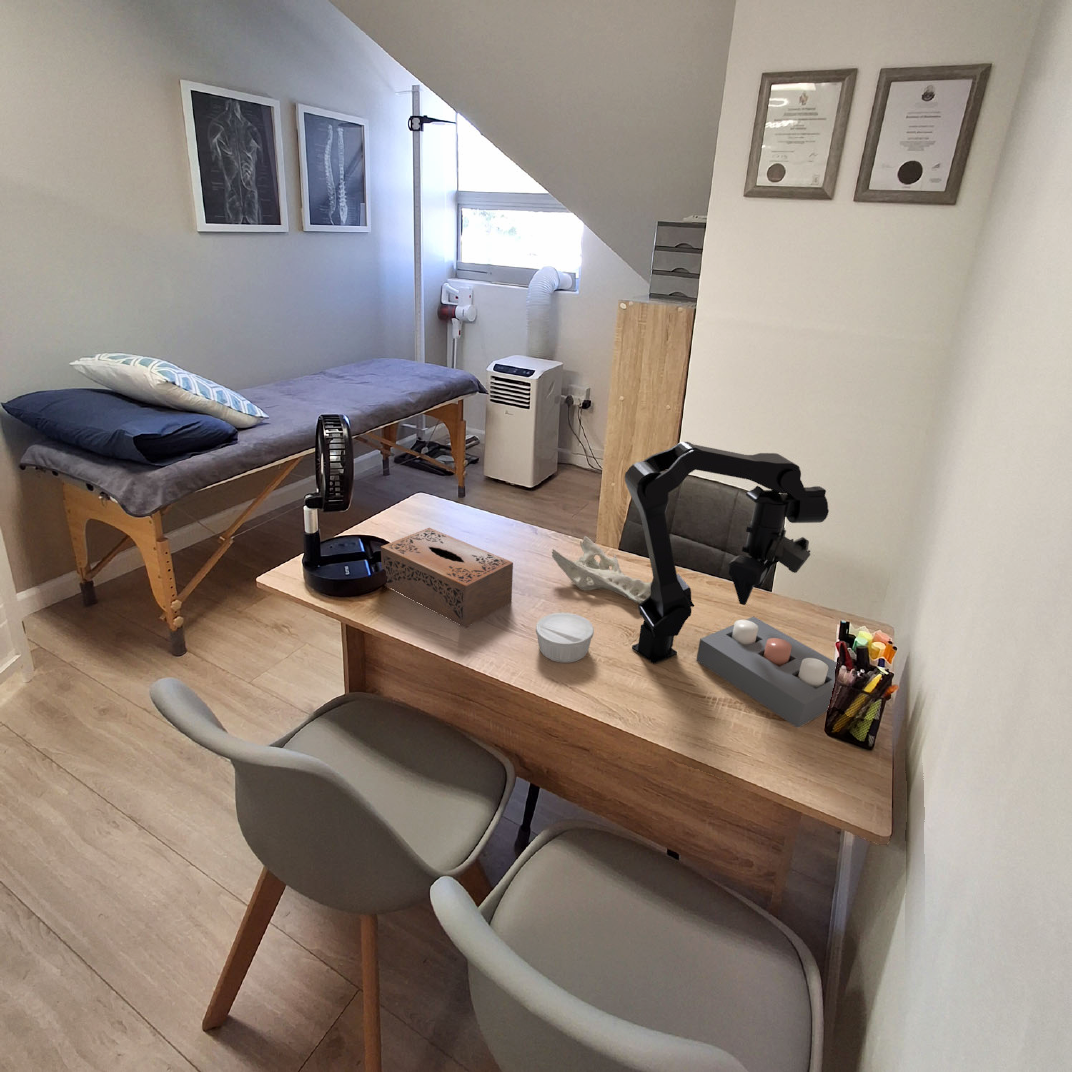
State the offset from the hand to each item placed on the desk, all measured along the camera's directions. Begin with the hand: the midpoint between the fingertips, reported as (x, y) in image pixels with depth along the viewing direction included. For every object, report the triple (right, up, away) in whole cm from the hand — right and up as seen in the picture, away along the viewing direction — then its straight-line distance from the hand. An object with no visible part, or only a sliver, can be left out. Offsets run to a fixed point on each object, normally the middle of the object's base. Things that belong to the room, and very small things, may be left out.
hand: (750, 595), depth 133 cm
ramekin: (-37, -11, 0) cm, 38 cm away
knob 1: (-2, -10, -1) cm, 10 cm away
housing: (+2, -15, -5) cm, 16 cm away
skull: (-26, -1, +24) cm, 35 cm away
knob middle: (+2, -12, -6) cm, 14 cm away
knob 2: (+7, -15, -12) cm, 20 cm away
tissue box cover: (-62, -2, +18) cm, 65 cm away
